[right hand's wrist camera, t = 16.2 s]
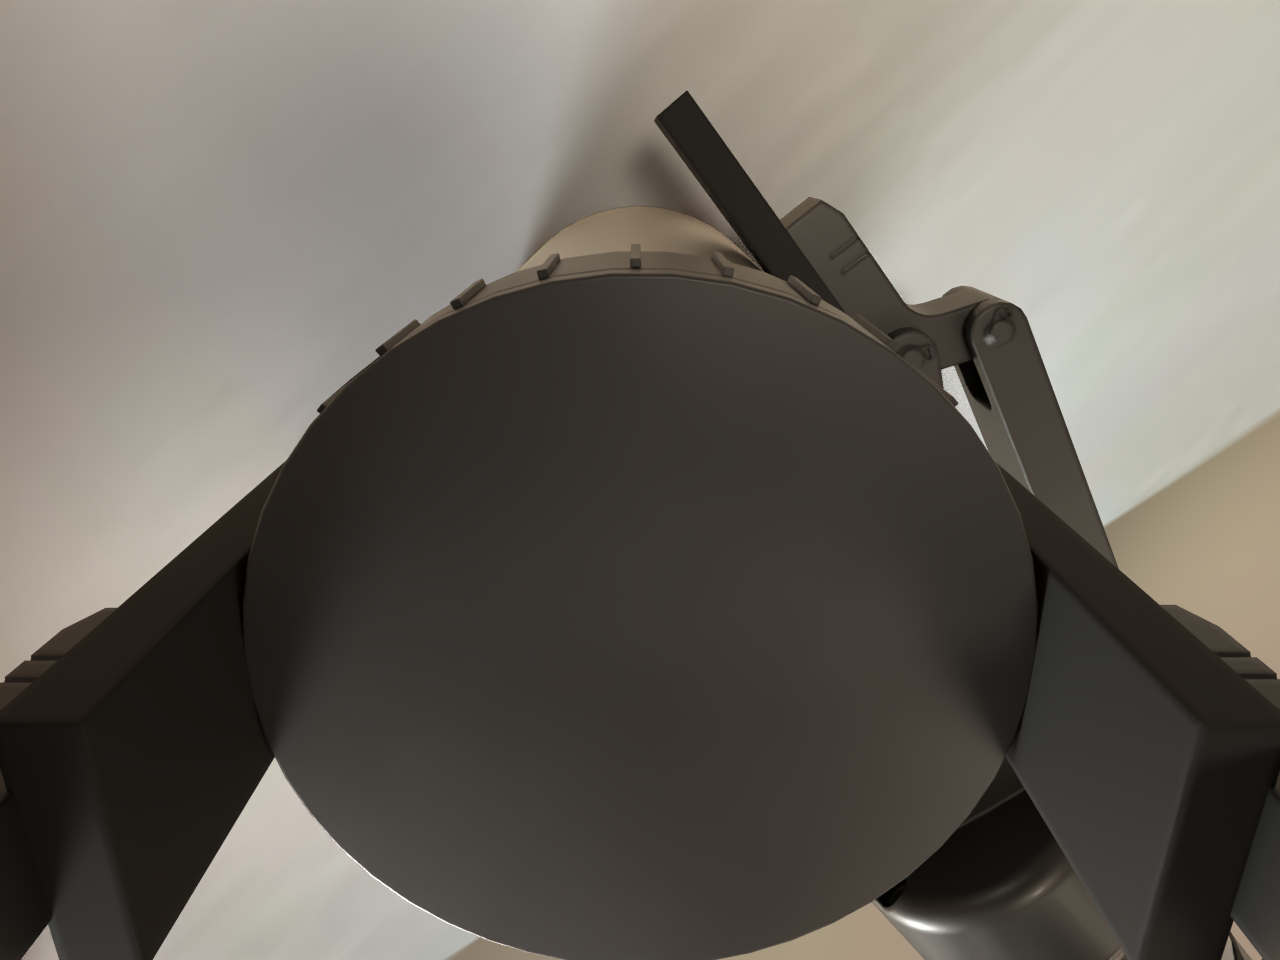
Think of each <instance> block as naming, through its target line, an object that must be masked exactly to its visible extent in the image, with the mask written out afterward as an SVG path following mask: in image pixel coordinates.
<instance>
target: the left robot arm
mask: <svg viewBox="0 0 1280 960" xmlns="http://www.w3.org/2000/svg"><path fill="white" fill-rule="evenodd" d="M654 122H655V123H656V124H657V126H658V127H659V128H660V130H661V131H662V132H663V134H664V135H665V137H666V138H667V139H668V141H669V142H670V143H671V145H672V146H673V147H674V149H675V150H676V152H677V153H678V154H679V156H680V157H681V158H682V160H683V161H684V162H685V164H686V165H687V167H688V168H689V169H690V171H691V172H692V173H693V175H694V176H695V177H696V179H697V180H698V182H699V183H700V184H701V186H702V187H703V188H704V190H705V191H706V192H707V194H708V195H709V197H710V198H711V199H712V201H713V202H714V203H715V205H716V206H717V207H718V209H719V210H720V212H721V213H722V214H723V216H724V217H725V218H726V220H727V221H728V222H729V224H730V225H731V227H732V228H733V229H734V231H735V232H736V233H737V235H738V236H739V237H740V239H741V240H742V242H743V243H744V244H745V246H746V247H747V248H748V250H749V251H750V252H751V254H752V255H753V257H754V258H755V259H756V261H757V262H758V263H759V265H760V266H761V267H762V269H763V270H764V272H765V273H768V274H770V275H772V276H775V277H777V278H779V279H782V280H784V281H786V282H787V281H788V278H789V276H790V275H791V276H794V277H796V278H798V279H799V280H800V281H802V282H803V283H804V284H805V285H806V286H808V287H809V288H810V289H811V290H813V291H814V292H815V293H816V294H818V295H819V296H820V297H821V298H822V300H824V301H825V302H827V303H829V304H830V305H832V306H833V307H835V308H837V309H838V310H840V311H842V312H843V313H845V314H847V315H848V316H850V317H851V318H852V319H853V320H854V319H855V317H856V316H857V315H860V316H861V317H863V318H864V319H865V320H867V321H868V322H869V323H871V324H872V325H873V326H875V327H876V328H877V329H879V330H880V331H881V332H883V333H884V334H885V335H887V336H888V337H889V338H891V339H892V340H893V341H895V342H896V343H897V344H898V345H897V347H896V348H895V349H894V350H893V351H894V352H895V353H896V354H898V355H899V356H900V357H901V358H903V359H904V360H905V361H906V362H907V363H909V364H910V365H911V366H914V367H916V368H917V369H918V370H919V371H921V372H922V373H923V374H924V375H926V376H927V377H928V378H930V379H931V380H932V381H933V382H935V383H936V384H937V385H939V386H940V387H941V388H942V389H943V381H942V373H941V369H944V368H948V367H951V366H955V369H956V371H957V374H958V376H959V379H960V381H961V384H962V386H963V389H964V391H965V394H966V396H967V399H968V401H969V404H970V406H971V409H972V411H973V414H974V416H975V419H976V421H977V424H978V426H979V429H980V431H981V434H982V436H983V439H984V441H985V443H986V446H987V448H988V451H989V453H990V455H991V456H992V458H993V459H994V461H995V462H996V463H998V464H999V465H1000V466H1001V467H1002V468H1003V469H1005V470H1006V471H1007V472H1008V473H1009V474H1010V475H1011V476H1013V477H1014V478H1015V479H1016V480H1017V481H1018V482H1019V483H1021V484H1022V485H1023V486H1024V487H1025V488H1026V489H1027V490H1029V491H1030V492H1031V493H1032V494H1033V495H1034V496H1035V497H1037V498H1038V499H1039V500H1040V501H1041V502H1042V503H1043V504H1045V505H1046V506H1047V507H1048V508H1049V509H1050V510H1051V511H1053V512H1054V513H1055V514H1056V515H1057V516H1058V517H1059V518H1061V519H1062V520H1063V521H1064V522H1065V523H1066V524H1067V525H1069V526H1070V527H1071V528H1072V529H1073V530H1074V531H1075V532H1077V533H1078V534H1079V535H1080V536H1081V537H1082V538H1083V539H1085V540H1086V541H1087V542H1088V543H1089V544H1090V545H1091V546H1093V547H1094V548H1095V549H1096V550H1097V551H1098V552H1099V553H1101V554H1102V555H1103V556H1104V557H1105V558H1106V559H1107V560H1109V561H1110V562H1111V563H1112V564H1113V565H1114V566H1115V567H1117V568H1118V566H1117V563H1116V560H1115V558H1114V555H1113V552H1112V549H1111V547H1110V544H1109V541H1108V538H1107V536H1106V533H1105V530H1104V528H1103V525H1102V522H1101V519H1100V517H1099V514H1098V511H1097V508H1096V506H1095V503H1094V500H1093V497H1092V495H1091V492H1090V489H1089V487H1088V484H1087V481H1086V478H1085V476H1084V473H1083V470H1082V467H1081V465H1080V462H1079V459H1078V456H1077V454H1076V451H1075V448H1074V446H1073V443H1072V440H1071V437H1070V435H1069V432H1068V429H1067V426H1066V424H1065V421H1064V418H1063V415H1062V413H1061V410H1060V407H1059V405H1058V402H1057V399H1056V396H1055V394H1054V391H1053V388H1052V385H1051V383H1050V380H1049V377H1048V374H1047V372H1046V369H1045V366H1044V364H1043V361H1042V358H1041V355H1040V353H1039V350H1038V347H1037V344H1036V342H1035V339H1034V336H1033V333H1032V331H1031V328H1030V325H1029V323H1028V320H1027V317H1026V316H1025V314H1024V313H1023V311H1022V310H1021V309H1020V308H1019V307H1017V306H1015V305H1014V304H1012V303H1010V302H1007V301H1005V300H1002V299H1000V298H997V297H995V296H992V295H990V294H988V293H985V292H983V291H980V290H978V289H975V288H973V287H968V286H959V287H956V288H952V289H951V290H949V291H948V292H947V293H945V294H944V295H943V296H942V297H941V298H938V299H935V300H932V301H929V302H925V303H922V304H917V305H907V304H905V302H904V301H903V300H902V298H901V297H900V295H899V294H898V293H897V291H896V290H895V288H894V287H893V285H892V284H891V282H890V281H889V279H888V278H887V277H886V275H885V274H884V272H883V271H882V269H881V268H880V266H879V265H878V263H877V262H876V261H875V259H874V258H873V256H872V255H871V253H870V252H869V251H868V249H867V247H866V246H865V245H864V243H863V242H862V240H861V239H860V238H859V236H858V235H857V233H856V231H855V230H854V229H853V227H852V226H851V224H850V223H849V221H848V220H847V218H846V217H845V215H844V214H843V213H841V212H840V211H838V210H837V209H835V208H833V207H832V206H830V205H829V204H827V203H825V202H824V201H822V200H819V199H815V198H812V197H809V198H807V199H806V200H805V201H804V202H802V203H801V204H800V205H798V206H797V207H796V208H795V209H793V210H792V211H791V212H790V213H788V214H787V215H786V216H785V217H783V218H782V219H781V220H779V219H778V217H777V216H776V214H775V213H774V212H773V210H772V209H771V207H770V206H769V205H768V203H767V202H766V200H765V199H764V198H763V196H762V195H761V193H760V192H759V190H758V189H757V188H756V186H755V185H754V183H753V182H752V181H751V179H750V178H749V176H748V175H747V174H746V172H745V171H744V169H743V168H742V167H741V165H740V164H739V162H738V161H737V160H736V158H735V157H734V155H733V154H732V153H731V151H730V150H729V148H728V147H727V146H726V144H725V143H724V141H723V140H722V139H721V137H720V136H719V134H718V133H717V132H716V130H715V129H714V127H713V126H712V125H711V123H710V122H709V120H708V119H707V118H706V116H705V115H704V113H703V112H702V111H701V109H700V108H699V106H698V105H697V104H696V102H695V101H694V99H693V98H692V97H691V95H690V94H689V92H688V91H686V92H685V93H684V94H682V95H681V96H680V97H679V98H678V99H677V100H675V101H674V102H673V103H672V104H671V105H670V106H668V107H667V108H666V109H665V110H664V111H663V112H661V113H660V114H659V115H658V116H657V117H656V119H655V120H654ZM380 357H381V356H379V357H378V358H377V359H379V358H380ZM377 359H376V360H377ZM376 360H374V361H373V362H372V363H374V362H375V361H376ZM372 363H371V364H372ZM371 364H369V365H368V366H367V367H366V368H368V367H369V366H370V365H371ZM366 368H364V369H363V370H362V371H360V372H359V373H358V374H357V375H355V376H354V377H353V378H352V379H350V380H349V381H348V382H347V383H349V382H350V381H351V380H353V379H354V378H355V377H356V376H358V375H359V374H360V373H361V372H363V371H364V370H365V369H366ZM347 383H346V384H347ZM346 384H345V385H346ZM345 385H343V386H342V387H344V386H345ZM342 387H341V388H342ZM341 388H340V389H341ZM340 389H339V390H340ZM339 390H338V391H339ZM336 392H337V391H336ZM336 392H335V393H336ZM335 393H334V394H335ZM334 394H333V395H334ZM328 399H329V398H328ZM872 903H873V904H874V905H875V906H876V907H877V908H878V909H879V910H880V911H881V912H882V914H883V915H884V916H885V917H886V918H887V919H888V920H889V921H890V922H891V923H892V925H893V926H894V927H895V928H896V929H897V930H898V931H899V932H900V933H901V934H902V935H903V936H904V938H905V939H906V940H907V941H908V942H909V943H910V944H911V945H912V946H913V947H914V948H915V949H916V951H917V952H918V953H919V954H920V955H921V956H922V957H923V958H924V959H925V960H1128V959H1127V957H1126V956H1125V954H1124V952H1123V951H1122V949H1121V947H1120V946H1119V944H1118V942H1117V941H1116V939H1115V937H1114V936H1113V934H1112V932H1111V931H1110V929H1109V927H1108V926H1107V924H1106V922H1105V921H1104V919H1103V917H1102V916H1101V914H1100V912H1099V911H1098V909H1097V907H1096V906H1095V904H1094V902H1093V901H1092V899H1091V897H1090V896H1089V894H1088V893H1087V891H1086V889H1085V888H1084V886H1083V884H1082V883H1081V881H1080V879H1079V878H1078V876H1077V874H1076V873H1075V871H1074V869H1073V868H1072V866H1071V864H1070V863H1069V861H1068V859H1067V858H1066V856H1065V854H1064V853H1063V851H1062V849H1061V848H1060V846H1059V844H1058V843H1057V841H1056V839H1055V838H1054V836H1053V834H1052V833H1051V831H1050V829H1049V828H1048V826H1047V825H1046V823H1045V821H1044V820H1043V818H1042V816H1041V815H1040V813H1039V811H1038V810H1037V808H1036V806H1035V805H1034V803H1033V801H1032V800H1031V798H1030V796H1029V795H1028V793H1027V791H1026V790H1025V788H1024V786H1023V785H1022V783H1021V781H1020V780H1019V778H1018V776H1017V775H1016V773H1015V771H1014V770H1013V768H1012V766H1011V765H1010V763H1009V761H1008V760H1007V758H1006V757H1005V758H1004V760H1003V762H1002V764H1001V766H1000V768H999V770H998V772H997V774H996V776H995V778H994V780H993V781H992V783H991V784H990V785H989V787H988V788H987V790H986V791H985V793H984V794H983V796H982V797H981V799H980V800H979V802H978V803H977V805H976V806H975V807H974V809H973V810H972V812H971V813H970V815H969V816H968V817H967V818H966V819H965V820H964V822H963V823H962V824H961V825H960V826H959V827H958V828H957V829H956V831H955V832H954V833H953V834H952V835H951V836H950V837H949V838H948V840H947V841H946V842H945V843H944V844H943V845H942V846H941V847H940V848H939V849H938V850H937V851H936V852H935V853H934V854H933V855H931V856H930V857H929V858H928V859H927V860H926V861H925V862H924V863H922V864H921V865H920V866H919V867H918V868H917V869H916V870H915V871H913V872H912V873H911V874H910V875H909V876H908V877H906V878H905V879H904V880H902V881H901V882H899V883H898V884H896V885H895V886H894V887H892V888H891V889H889V890H888V891H886V892H885V893H884V894H882V895H881V896H879V897H878V898H876V899H875V900H874V901H872ZM1221 960H1252V959H1251V958H1250V956H1249V955H1248V954H1247V953H1246V952H1245V950H1244V949H1243V948H1242V946H1241V945H1240V944H1239V943H1238V941H1237V940H1236V939H1235V938H1234V936H1233V935H1232V933H1231V932H1230V933H1229V937H1228V940H1227V943H1226V946H1225V949H1224V953H1223V956H1222V959H1221Z"/></svg>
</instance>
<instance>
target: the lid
mask: <svg viewBox="0 0 1280 960" xmlns="http://www.w3.org/2000/svg"><path fill="white" fill-rule="evenodd" d="M897 345H898V344H897V343H896V342H895V341H893V340H892V339H891V338H889V337H888V336H887V335H885V334H884V333H883V332H881V331H880V330H879V329H877V328H876V327H875V326H873V325H872V324H871V323H869V322H868V321H867V320H865V319H864V318H863V317H861V316H860V315H857V316H856V317H855V319H854V320H853V319H852V318H851V317H850V316H848V315H847V314H845V313H843V312H842V311H840V310H838V309H837V308H835V307H833V306H832V305H830V304H829V303H827V302H825V301H824V300H822V298H821V297H820V296H819V295H818V294H816V293H815V292H814V291H813V290H811V289H810V288H809V287H808V286H806V285H805V284H804V283H803V282H802V281H800V280H799V279H798V278H796V277H794V276H791V275H790V276H789V278H788V281H787V282H786V281H784V280H782V279H779V278H777V277H775V276H772V275H770V274H768V273H765V272H763V271H759V270H756V269H752V268H749V267H745V266H742V265H738V264H734V263H731V262H728V260H727V259H726V258H725V257H724V255H723V254H722V253H720V252H715V251H713V253H712V258H710V257H703V256H695V255H688V254H681V253H674V252H666V251H641V247H640V244H632V245H631V251H615V252H607V253H600V254H592V255H585V256H578V257H570V258H564V259H560V255H559V253H556V254H552V255H550V256H549V257H548V258H547V260H546V261H545V262H544V263H543V264H542V265H539V266H535V267H532V268H528V269H524V270H521V271H518V272H515V273H513V274H511V275H508V276H506V277H504V278H501V279H499V280H497V281H494V282H492V283H490V284H487V285H486V284H485V282H484V280H483V279H480V280H478V281H476V282H475V283H473V284H472V285H471V286H470V287H468V288H467V289H466V290H465V291H463V292H462V293H461V294H460V295H458V296H457V297H456V298H455V299H453V300H452V301H451V302H450V305H449V306H447V307H445V308H444V309H442V310H440V311H439V312H437V313H435V314H434V315H432V316H431V317H430V318H428V319H427V320H426V321H425V322H423V323H422V324H421V325H420V324H419V322H418V321H417V320H414V321H413V322H411V323H410V324H409V325H407V326H406V327H405V328H403V329H402V330H401V331H399V332H398V333H397V334H395V335H394V336H393V337H391V338H390V339H389V340H387V341H386V342H385V343H383V344H382V345H381V346H380V347H378V348H377V349H376V352H377V353H378V354H379V355H380V356H381V357H380V358H379V359H377V360H376V361H375V362H374V363H372V364H371V365H370V366H369V367H368V368H366V369H365V370H364V371H363V372H361V373H360V374H359V375H358V376H356V377H355V378H354V379H353V380H351V381H350V382H349V383H347V384H346V385H345V386H344V387H342V388H341V389H340V390H339V391H337V392H336V393H335V394H334V395H332V396H331V397H330V398H329V399H327V400H326V401H325V402H324V403H322V404H321V406H320V407H319V408H318V409H317V411H318V412H319V413H320V415H319V416H318V417H317V418H316V419H315V420H314V421H313V422H312V423H311V425H310V426H309V428H308V429H307V431H306V432H305V434H304V435H303V437H302V438H301V440H300V441H299V443H298V444H297V446H296V447H295V449H294V450H293V452H292V453H291V455H290V456H289V458H288V459H287V461H286V462H285V464H284V465H283V467H282V469H281V471H280V472H279V475H278V477H277V479H276V482H275V484H274V486H273V488H272V490H271V492H270V495H269V497H268V499H267V501H266V503H265V505H264V507H263V510H262V512H261V515H260V519H259V522H258V526H257V529H256V533H255V536H254V540H253V543H252V547H251V550H250V553H249V557H248V563H247V571H246V579H245V587H244V595H243V603H242V612H243V645H244V652H245V658H246V663H247V669H248V674H249V680H250V685H251V691H252V696H253V701H254V705H255V708H256V711H257V714H258V717H259V720H260V723H261V726H262V729H263V732H264V735H265V738H266V740H267V742H268V744H269V746H270V748H271V750H272V752H273V754H274V756H275V758H276V760H277V762H278V764H279V766H280V768H281V770H282V772H283V774H284V776H285V778H286V779H287V781H288V782H289V784H290V785H291V787H292V788H293V790H294V791H295V793H296V794H297V796H298V797H299V798H300V800H301V801H302V803H303V804H304V806H305V807H306V809H307V810H308V812H309V813H310V815H311V816H312V817H313V818H314V819H315V820H316V821H317V822H318V824H319V825H320V826H321V827H322V828H323V829H324V830H325V832H326V833H327V834H328V835H329V836H330V837H331V838H332V840H333V841H334V842H335V843H336V844H337V845H338V846H339V847H340V848H341V849H342V850H343V851H344V852H345V853H346V854H347V855H349V856H350V857H351V858H352V859H353V860H354V861H355V862H356V863H358V864H359V865H360V866H361V867H362V868H363V869H364V870H365V871H367V872H368V873H369V874H370V875H371V876H372V877H374V878H375V879H376V880H378V881H379V882H381V883H382V884H384V885H385V886H386V887H388V888H389V889H391V890H392V891H394V892H395V893H396V894H398V895H399V896H401V897H402V898H403V899H405V900H406V901H408V902H409V903H411V904H413V905H415V906H417V907H419V908H420V909H422V910H424V911H426V912H428V913H429V914H431V915H433V916H435V917H437V918H438V919H440V920H442V921H444V922H446V923H448V924H450V925H453V926H455V927H457V928H460V929H462V930H465V931H467V932H469V933H472V934H474V935H476V936H479V937H481V938H484V939H486V940H489V941H492V942H495V943H499V944H502V945H505V946H509V947H512V948H515V949H518V950H522V951H525V952H528V953H532V954H537V955H543V956H547V957H553V958H558V959H563V960H717V959H722V958H727V957H732V956H738V955H743V954H748V953H752V952H755V951H758V950H762V949H765V948H768V947H771V946H775V945H778V944H781V943H785V942H788V941H791V940H794V939H796V938H799V937H801V936H803V935H806V934H808V933H811V932H813V931H815V930H818V929H820V928H822V927H825V926H827V925H830V924H832V923H834V922H836V921H838V920H840V919H841V918H843V917H845V916H847V915H849V914H850V913H852V912H854V911H856V910H858V909H860V908H861V907H863V906H865V905H867V904H869V903H871V902H872V901H874V900H875V899H876V898H878V897H879V896H881V895H882V894H884V893H885V892H886V891H888V890H889V889H891V888H892V887H894V886H895V885H896V884H898V883H899V882H901V881H902V880H904V879H905V878H906V877H908V876H909V875H910V874H911V873H912V872H913V871H915V870H916V869H917V868H918V867H919V866H920V865H921V864H922V863H924V862H925V861H926V860H927V859H928V858H929V857H930V856H931V855H933V854H934V853H935V852H936V851H937V850H938V849H939V848H940V847H941V846H942V845H943V844H944V843H945V842H946V841H947V840H948V838H949V837H950V836H951V835H952V834H953V833H954V832H955V831H956V829H957V828H958V827H959V826H960V825H961V824H962V823H963V822H964V820H965V819H966V818H967V817H968V816H969V815H970V813H971V812H972V810H973V809H974V807H975V806H976V805H977V803H978V802H979V800H980V799H981V797H982V796H983V794H984V793H985V791H986V790H987V788H988V787H989V785H990V784H991V783H992V781H993V780H994V778H995V776H996V774H997V772H998V770H999V768H1000V766H1001V764H1002V762H1003V760H1004V758H1005V756H1006V754H1007V752H1008V750H1009V748H1010V746H1011V744H1012V742H1013V740H1014V738H1015V735H1016V732H1017V729H1018V726H1019V723H1020V721H1021V718H1022V715H1023V712H1024V709H1025V706H1026V701H1027V697H1028V691H1029V686H1030V680H1031V675H1032V669H1033V664H1034V658H1035V653H1036V646H1037V629H1038V599H1037V591H1036V583H1035V574H1034V566H1033V559H1032V555H1031V551H1030V548H1029V544H1028V541H1027V537H1026V534H1025V530H1024V527H1023V523H1022V520H1021V516H1020V513H1019V510H1018V508H1017V506H1016V504H1015V502H1014V500H1013V497H1012V495H1011V493H1010V491H1009V489H1008V486H1007V484H1006V482H1005V480H1004V478H1003V475H1002V473H1001V471H1000V469H999V467H998V465H997V464H996V463H995V461H994V459H993V458H992V456H991V455H990V453H989V452H988V450H987V449H986V447H985V446H984V444H983V443H982V441H981V440H980V438H979V437H978V435H977V434H976V432H975V431H974V429H973V428H972V426H971V425H970V424H969V422H968V421H967V420H966V419H965V418H964V417H963V416H962V415H961V414H960V412H959V411H958V410H957V409H956V408H955V406H956V405H958V402H957V401H956V400H955V398H954V397H953V396H951V395H950V394H949V393H947V392H946V391H945V390H944V389H942V388H941V387H940V386H939V385H937V384H936V383H935V382H933V381H932V380H931V379H930V378H928V377H927V376H926V375H924V374H923V373H922V372H921V371H919V370H918V369H917V368H916V367H914V366H911V365H910V364H909V363H907V362H906V361H905V360H904V359H903V358H901V357H900V356H899V355H898V354H896V353H895V352H894V351H893V350H894V349H895V348H896V347H897Z"/></svg>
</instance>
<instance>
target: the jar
mask: <svg viewBox="0 0 1280 960" xmlns="http://www.w3.org/2000/svg"><path fill="white" fill-rule="evenodd" d="M632 244H640V247H641V251H666V252H674V253H681V254H688V255H695V256H703V257H710V258H712V253H713V251H715V252H720V253H722V254H723V255H724V257H725V258H726V259H727V260H728V262H731V263H734V264H738V265H742V266H745V267H749V268H752V269H756V270H759V271H762V270H761V269H760V268H759V267H758V266H757V265H756V264H755V263H754V262H753V261H752V260H751V259H750V258H749V257H748V256H747V255H746V254H745V253H744V252H743V251H742V250H741V249H740V248H738V247H737V246H736V245H735V244H734V243H733V242H732V241H731V240H730V239H729V238H727V237H726V236H725V235H724V234H722V233H721V232H719V231H718V230H716V229H715V228H713V227H712V226H710V225H708V224H706V223H704V222H702V221H700V220H698V219H696V218H694V217H692V216H689V215H686V214H683V213H680V212H677V211H673V210H668V209H663V208H658V207H643V206H635V207H622V208H616V209H611V210H607V211H602V212H599V213H596V214H593V215H591V216H588V217H585V218H583V219H581V220H579V221H577V222H575V223H573V224H571V225H569V226H568V227H566V228H564V229H563V230H562V231H560V232H559V233H557V234H556V235H555V236H553V237H552V238H551V239H550V240H548V241H547V242H546V243H545V244H544V245H543V246H542V247H541V248H540V249H539V250H538V251H537V252H536V253H535V254H534V255H533V256H532V257H531V258H530V259H529V260H528V261H527V262H526V263H525V264H524V265H523V266H522V267H521V268H520V269H519V270H518V271H521V270H524V269H528V268H532V267H535V266H539V265H542V264H543V263H544V262H545V261H546V260H547V258H548V257H549V256H550V255H552V254H556V253H559V255H560V259H564V258H570V257H578V256H585V255H592V254H600V253H607V252H615V251H631V245H632ZM518 271H517V272H518Z"/></svg>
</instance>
